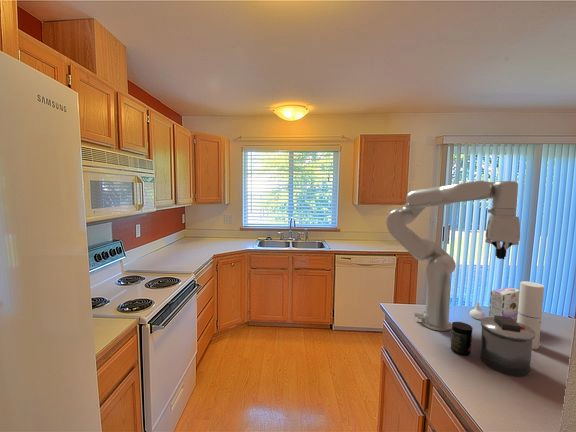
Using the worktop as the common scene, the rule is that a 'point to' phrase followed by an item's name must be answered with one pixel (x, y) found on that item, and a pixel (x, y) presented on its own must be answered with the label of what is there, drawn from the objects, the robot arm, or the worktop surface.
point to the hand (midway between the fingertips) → (500, 258)
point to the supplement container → (461, 338)
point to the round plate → (507, 327)
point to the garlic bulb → (477, 312)
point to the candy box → (505, 303)
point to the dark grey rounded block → (505, 354)
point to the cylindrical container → (531, 308)
